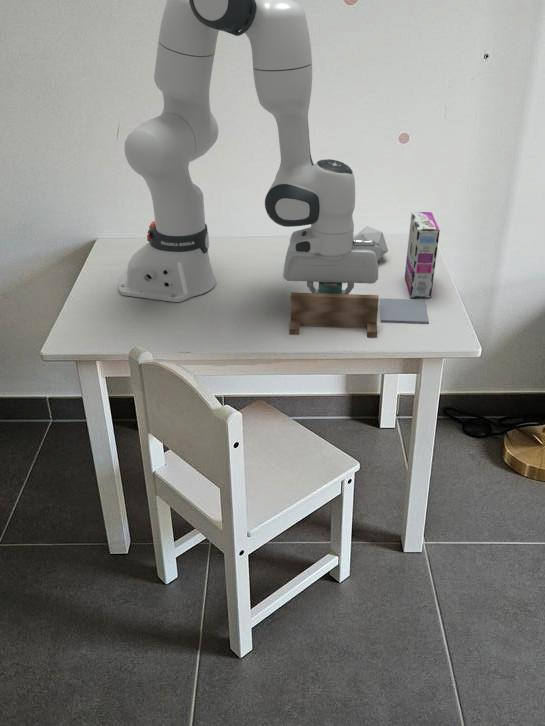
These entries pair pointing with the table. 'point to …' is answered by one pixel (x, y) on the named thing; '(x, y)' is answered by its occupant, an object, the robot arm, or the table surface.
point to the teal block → (330, 287)
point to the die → (372, 237)
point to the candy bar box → (421, 254)
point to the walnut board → (334, 311)
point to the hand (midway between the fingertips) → (329, 298)
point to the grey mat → (403, 311)
